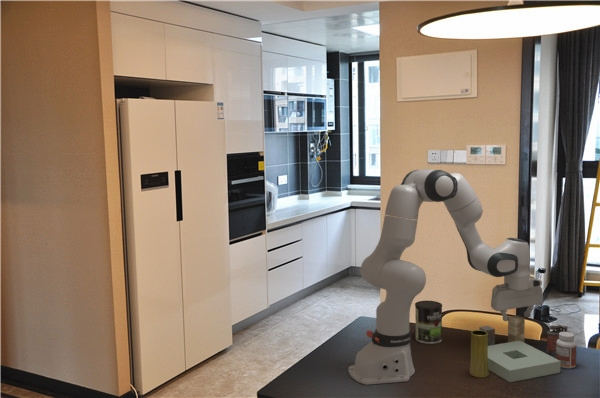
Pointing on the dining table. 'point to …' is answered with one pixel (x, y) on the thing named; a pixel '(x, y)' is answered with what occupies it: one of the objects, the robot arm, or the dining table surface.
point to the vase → (479, 354)
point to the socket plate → (520, 361)
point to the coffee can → (428, 322)
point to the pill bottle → (566, 350)
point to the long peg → (516, 328)
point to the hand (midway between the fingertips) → (516, 318)
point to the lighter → (554, 337)
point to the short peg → (489, 334)
